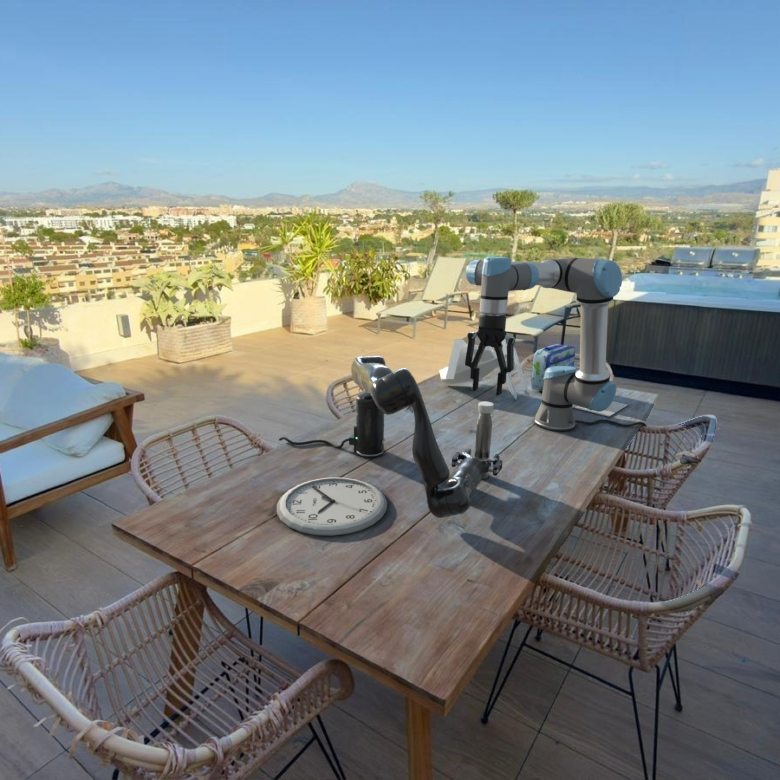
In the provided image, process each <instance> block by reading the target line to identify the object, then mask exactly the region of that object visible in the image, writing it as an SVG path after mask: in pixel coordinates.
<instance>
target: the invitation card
mask: <svg viewBox="0 0 780 780" xmlns="http://www.w3.org/2000/svg"><path fill="white" fill-rule="evenodd" d="M628 406H629V404H627V403H623V402H618V401H614V400H613V401H612V403H611V404H610V406H609V407H608V408H607V409H605V410H604V411H601V412H598V411H594V410H589V409H587V408H583V407H580V406H577V405H575V406H574V407H573V409H575V410H581V411H584V412H587V413H593V414H596V415H600V416H604V417H608V418H609V417H611V416H613V415H614V414H616V413H617V412H619V411H621V410H623V409H624V408H626V407H628Z"/></svg>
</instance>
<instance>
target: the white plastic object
mask: <svg viewBox="0 0 780 780" xmlns="http://www.w3.org/2000/svg"><path fill="white" fill-rule="evenodd" d="M501 344H502V350H503V354H504V358H505V362H506V366H507V343H506V340H505V339H504V340H503V341H502V342H501ZM478 346H479V344H478V345H474V351H473V358H472V362H473V359H474V357H475V355H476V352H477V350H478ZM467 347H468V343H466V342H465V340H464V339H463V338H460V339H458V338H454V340H453V344H452V349H451V353H450V357H449V362H448V366H446V367H444V368H442V369H440V370H439V371H438V372H439V376H440V381H442V383H443V384H444V385H445V386H449V385H458V384H467V383H468V384H469V383H473V379H471V378H470V375H471V368H470V367H469V366H466V365H465V359H466V353H467ZM514 367H515V369H516V372H517V376H518V380H519V382H520V385H521V389H522V391H523V393H524V395H525V396H526V397H528V396H531V395H530V390H529V388H528V387H529V386H528V384H527V381H526V378H525V375H524V371H523V369H522V368H523V367H522V366H521V362H520V359H519V355H518V352H517V349H516V347H514ZM477 368H480V369H479V383H480V382H482V381H484V378H485V377H486V376H487V375H489V374H490V373H492V372H494V371H495V370H496V369H497V368H500V367H499V363H498V359H497V355H496V351H495V350H494V349H493V347H490V346H486V347H485V349H484V351H483V354H482V356H481V358H480V361H479V363H478V365H477ZM506 383H507V386H508V390H509V393H510V394H511V395H512V397H513V398H514V399H515V400H517V392H516V391H517V390H516V388H515V385H514V381H513V378H512V375H511V372H507V375H506Z"/></svg>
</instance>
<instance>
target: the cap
mask: <svg viewBox="0 0 780 780" xmlns="http://www.w3.org/2000/svg"><path fill="white" fill-rule="evenodd" d="M477 407H478V408H477V411H478V412H479V413H480V412H481V413H491V414H492V413H494V407H495V405H494V403H493V402H490V401H486V400H485V401H479V402H478V404H477Z"/></svg>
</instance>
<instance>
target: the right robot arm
mask: <svg viewBox="0 0 780 780" xmlns="http://www.w3.org/2000/svg"><path fill="white" fill-rule="evenodd" d="M465 269H466V270H465V278H466V280H467V282H468V283H469V284H471V285H474V286H477V287H479V286H481V287H480V299H479V312H480V314H479V315H478V328H477V330H476V331H470V332H468V333H467V341H468V342H467V345H468V347H467V353H466V359H465V365H466V366H469V367H470V368H471V375H470V378H471V379H473V382H472V390H471V391H472V392H476V391H478V390H479V383H480V382H479V369H480V368H477V365H478V363H479V361H480V358H481V356H482V354H483V351H484V349H485V347H486V346H490V347H491V348H493V350H495V351H496V355H497V359H498V363H499V367H498V368H499V370H500V371H499V372H498V373H497V381H496V391H495V395H496V396H500V395H502V393H503V385H505V384H506V383H507V380H506V375H507V372H510V373H511V372H512V371H514V369H515V363H514V348H515V342H516V339H517V338H516V336H510V335H508V334H507V332H506V325H507V315H506V314H507V313H508V303H509V302H508V301H509V292H515V291H526V290H531V289H533V288H535V287H536V286H539V287H542V288H544V289H554V290H558V291H562V292H567V293H574V294H576V295H575V296H576V297H575V298H576V302H577V304H579V305H580V329H579V330H580V331H579V332H580V333H579V335H580V336H579V369H578V368H577V367H576V366H574V367H572V366H554V367H550V368H547V369H546V371H545V374H544V378H543V379H544V382H543V391H541V392H542V394H541V402H540V405H539V407H538V410H537V411H536V413H535V417H534V424H535V425H536V426H537V427H539V428H542V429H544V430H549V431H556V432H567V431H572V430H574V429H575V428H576V424H582V425H588V426H589V425H596V424H597V423H608V424H613V425H615V426H618V427H619V426H620V427H625V428H630V427H634V426H637V425H638V426H639V425H642V426H643V427H644V428H645V427H648V425H647V424H646V423H645V422H643V421H636V422H633V423H628V424H627V423H621V422H617V421H615V420H609V419H597V420H594V421H584V420H578V419H576V418H575V417H576V416H575V413H574V407H573V405H574V406H580V407H583V408H587V409H589V410H594V411H598V412H601V411H604V410H605V409H607V408H608V407H609V406H610V404H611V403H612V401H614V400H615V398H616V397H615V396H616V394H617V384H616V383H615V382H614V381H612V380H610V378H611V374H610V372H609V371H608V370H607V367H606V365H607V344H608V343H607V341H608V315H609V305H610V304H611V303H612V302H613V300H614V297H616V296H617V295H618V294H619V293H620V291H621V287H622V284H623V274H622V270H621V267H620V265H618V263H617V262H616V261H614V260H610V259H605V258H588V257H564V258H553V259H545V260H542V261H512V260H511V258H510V257H508V256H487V257H485V258H484V259H483V260H482V259H478V260H472V261H470V262H468V264H467V266H466V268H465ZM477 338H478V340H479V341H480V342H479V344H478V345H479V346H478V345H477V346H478V350H477V352H476V355H475V357H474V359H473V362H472V358H473V351H474V346H476V345H475V344H476V339H477ZM504 339H505V340H506V343H507V366H506V362H505V358H504V354H503V350H502V348H503V345H502V341H503V340H504Z"/></svg>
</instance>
